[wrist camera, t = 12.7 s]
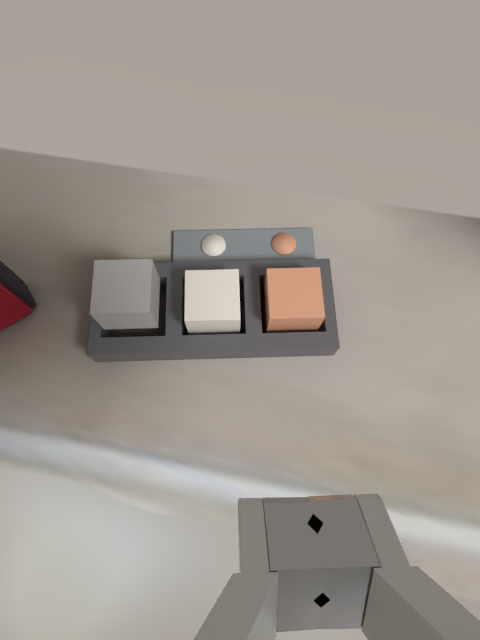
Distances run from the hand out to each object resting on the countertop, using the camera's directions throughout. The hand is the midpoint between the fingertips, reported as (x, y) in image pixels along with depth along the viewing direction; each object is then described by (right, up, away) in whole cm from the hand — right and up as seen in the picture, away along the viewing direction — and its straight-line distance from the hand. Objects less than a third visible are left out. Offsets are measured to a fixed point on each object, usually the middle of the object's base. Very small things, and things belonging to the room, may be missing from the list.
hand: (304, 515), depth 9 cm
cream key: (-4, +5, +30) cm, 30 cm away
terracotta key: (+3, +5, +30) cm, 31 cm away
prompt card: (-1, +12, +33) cm, 35 cm away
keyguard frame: (-4, +5, +31) cm, 31 cm away
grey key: (-11, +6, +27) cm, 30 cm away
